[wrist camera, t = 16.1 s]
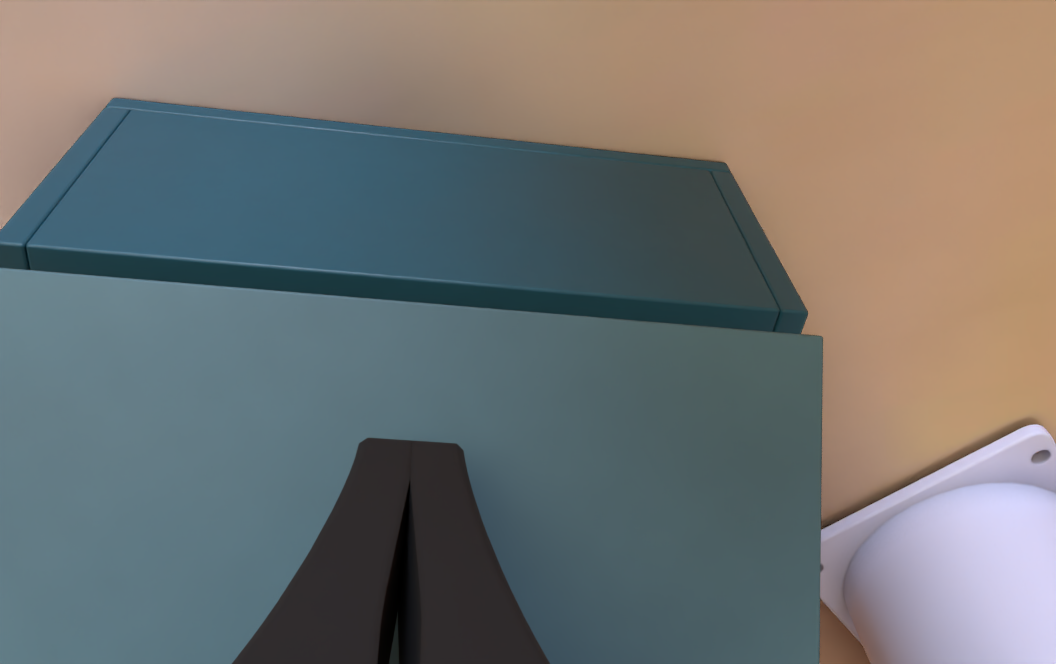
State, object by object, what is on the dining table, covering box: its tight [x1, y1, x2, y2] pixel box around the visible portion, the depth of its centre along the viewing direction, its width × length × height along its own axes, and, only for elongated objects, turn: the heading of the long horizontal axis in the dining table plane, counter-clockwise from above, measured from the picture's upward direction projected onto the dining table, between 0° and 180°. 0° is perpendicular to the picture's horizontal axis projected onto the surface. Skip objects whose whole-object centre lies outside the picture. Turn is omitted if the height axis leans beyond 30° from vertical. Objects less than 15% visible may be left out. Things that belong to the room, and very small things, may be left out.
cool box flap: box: [0, 268, 823, 664], centre depth 14 cm, size 7×13×1 cm
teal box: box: [0, 98, 808, 334], centre depth 21 cm, size 14×13×7 cm
